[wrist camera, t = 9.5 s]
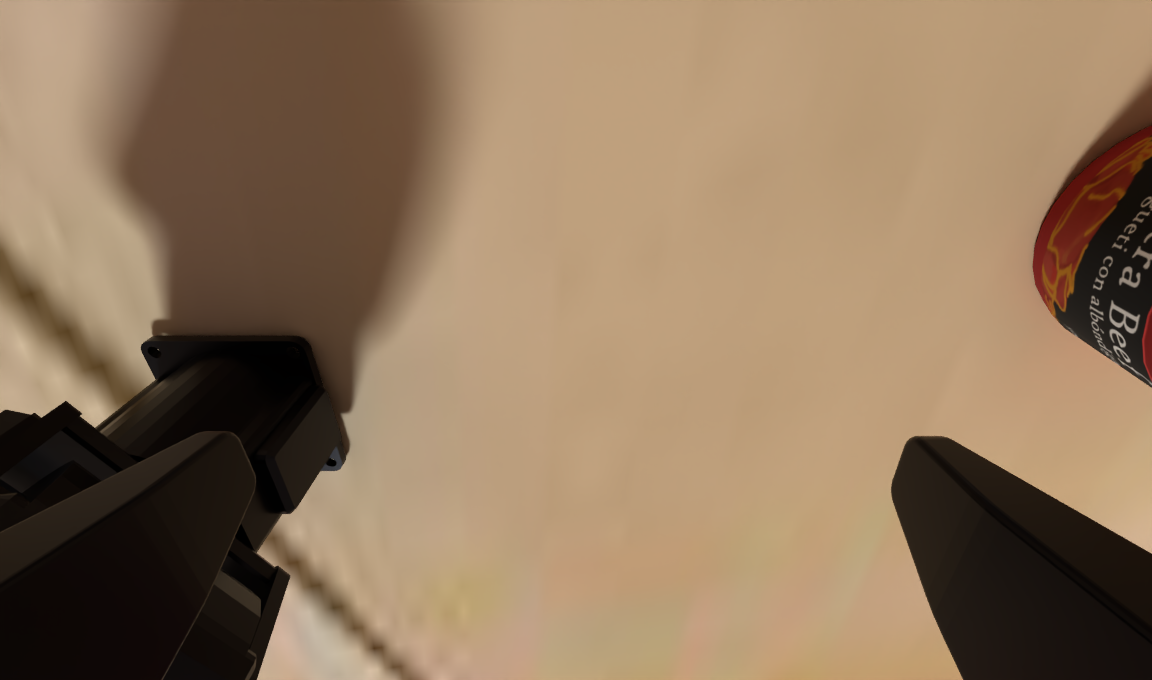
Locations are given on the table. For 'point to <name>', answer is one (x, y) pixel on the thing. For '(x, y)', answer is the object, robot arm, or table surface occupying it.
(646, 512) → the table surface
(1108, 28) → the table surface
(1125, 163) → the canned food
